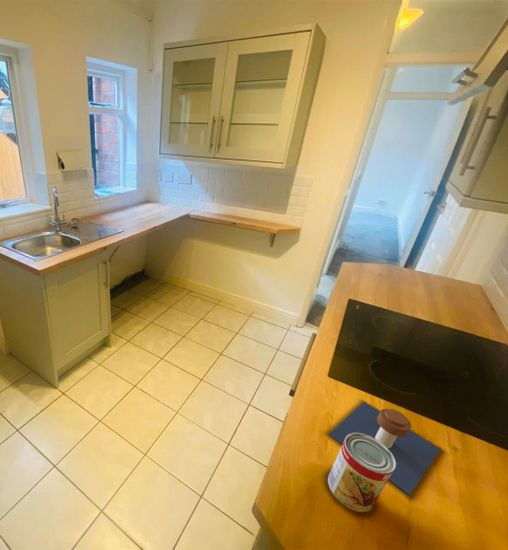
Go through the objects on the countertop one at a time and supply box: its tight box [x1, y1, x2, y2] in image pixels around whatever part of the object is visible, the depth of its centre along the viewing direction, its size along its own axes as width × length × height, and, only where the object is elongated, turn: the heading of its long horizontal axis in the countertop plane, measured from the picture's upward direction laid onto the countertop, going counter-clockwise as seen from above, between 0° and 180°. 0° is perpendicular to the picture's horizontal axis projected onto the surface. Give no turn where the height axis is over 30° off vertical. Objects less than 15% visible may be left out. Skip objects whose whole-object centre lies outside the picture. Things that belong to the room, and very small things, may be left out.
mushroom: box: [375, 408, 412, 448], centre depth 69 cm, size 6×6×8 cm
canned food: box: [327, 433, 396, 513], centre depth 58 cm, size 8×8×12 cm
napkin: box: [328, 401, 442, 496], centre depth 71 cm, size 18×16×1 cm
